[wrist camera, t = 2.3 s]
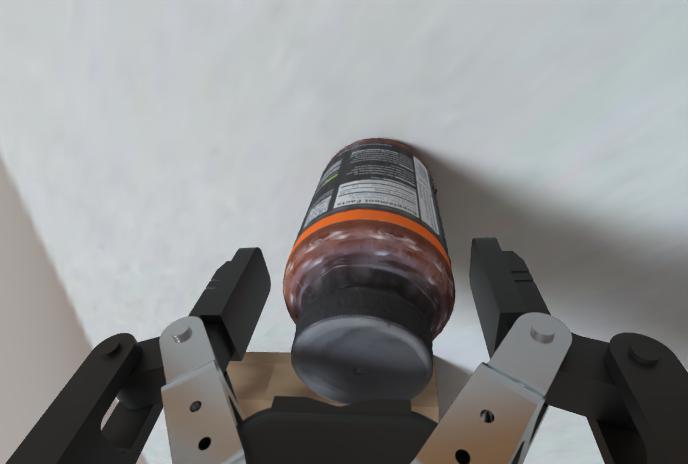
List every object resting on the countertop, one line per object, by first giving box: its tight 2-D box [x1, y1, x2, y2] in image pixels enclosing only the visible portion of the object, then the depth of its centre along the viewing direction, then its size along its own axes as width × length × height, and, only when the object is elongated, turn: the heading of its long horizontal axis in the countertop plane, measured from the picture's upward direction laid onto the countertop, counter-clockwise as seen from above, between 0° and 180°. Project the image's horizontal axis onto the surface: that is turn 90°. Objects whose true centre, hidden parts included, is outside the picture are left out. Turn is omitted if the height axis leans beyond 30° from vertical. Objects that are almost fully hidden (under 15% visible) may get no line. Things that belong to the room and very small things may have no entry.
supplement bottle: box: [283, 138, 455, 405], centre depth 14 cm, size 6×6×11 cm
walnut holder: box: [227, 352, 439, 424], centre depth 30 cm, size 16×16×4 cm
